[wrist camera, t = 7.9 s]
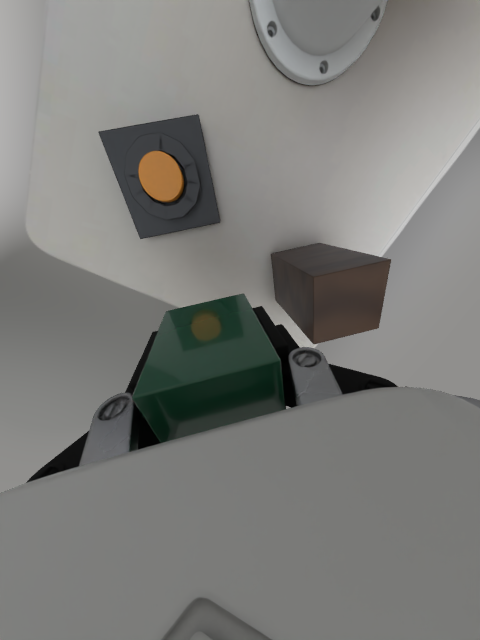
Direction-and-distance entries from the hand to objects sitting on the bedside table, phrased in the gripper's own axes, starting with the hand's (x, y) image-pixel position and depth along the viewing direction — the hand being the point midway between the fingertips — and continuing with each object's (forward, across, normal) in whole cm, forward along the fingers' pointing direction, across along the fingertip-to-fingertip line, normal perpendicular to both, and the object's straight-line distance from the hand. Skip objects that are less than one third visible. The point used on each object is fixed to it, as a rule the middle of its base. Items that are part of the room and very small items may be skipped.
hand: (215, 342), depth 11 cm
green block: (+1, 0, 0) cm, 1 cm away
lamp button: (+14, +2, -10) cm, 17 cm away
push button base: (+18, +2, -10) cm, 20 cm away
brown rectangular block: (+18, -12, +3) cm, 22 cm away
